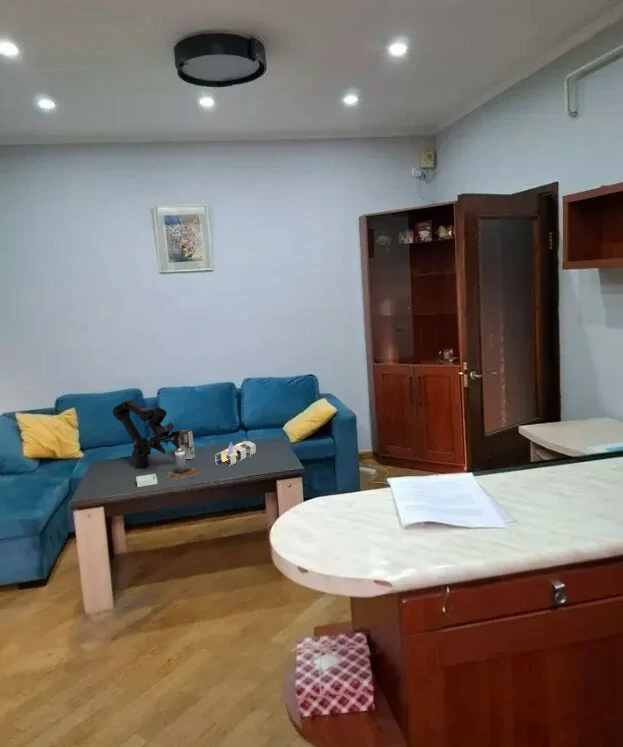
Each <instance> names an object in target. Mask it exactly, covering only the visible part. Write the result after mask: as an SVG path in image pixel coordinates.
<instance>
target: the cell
mask: <svg viewBox="0 0 623 747" xmlns="http://www.w3.org/2000/svg"><path fill="white" fill-rule="evenodd" d="M174 456H175V458H174V459H175V466H176V469H177V474H180V475H181V474H184V473H186V472H187V470H186V467H187V461H186V459H185V450H184V449H181V448H179V449H178V450H176V449H175V450H174Z"/></svg>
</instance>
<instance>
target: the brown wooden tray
mask: <svg viewBox="0 0 623 747" xmlns="http://www.w3.org/2000/svg"><path fill="white" fill-rule="evenodd" d="M186 470H187V472H186V473H184V474H181V475H180V474H177V469H172V470H170V471H166V475H164V477H165V478H168V479H169V478H170V479H172V480H173V479H174V480H178V481H182V480H185V479H188V478H190V477H194V476H195V475H199V474H200V472H198V470H197V469H195V468H191V467H187V466H186Z"/></svg>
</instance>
